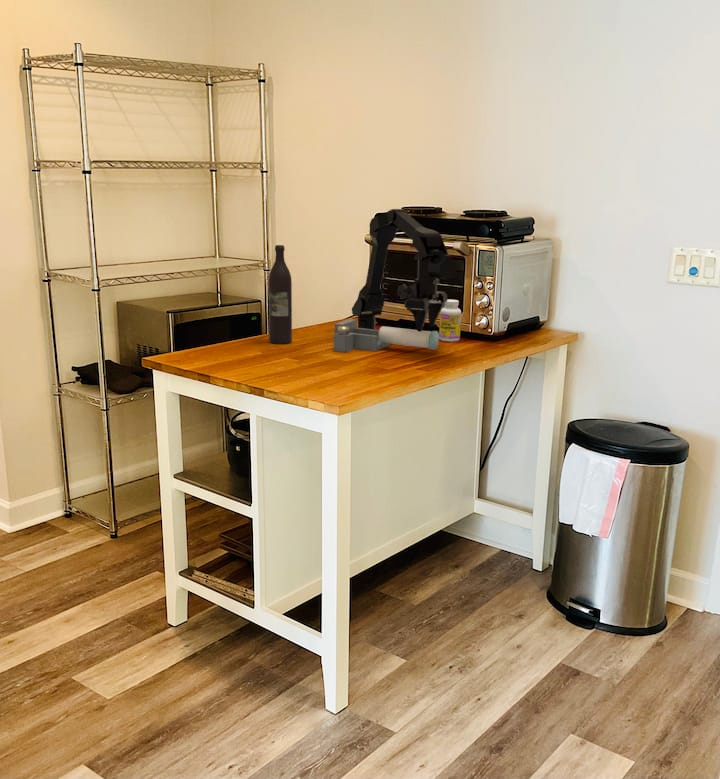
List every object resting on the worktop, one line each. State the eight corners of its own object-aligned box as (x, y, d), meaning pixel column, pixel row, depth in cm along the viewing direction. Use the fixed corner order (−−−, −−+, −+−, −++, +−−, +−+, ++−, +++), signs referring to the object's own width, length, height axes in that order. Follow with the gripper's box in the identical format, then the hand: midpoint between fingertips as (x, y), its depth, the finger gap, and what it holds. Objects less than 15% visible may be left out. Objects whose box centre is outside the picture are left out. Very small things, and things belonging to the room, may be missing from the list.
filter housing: (349, 340, 258) (349, 319, 256) (389, 345, 252) (389, 323, 250) (325, 349, 244) (325, 326, 242) (366, 354, 238) (367, 331, 236)
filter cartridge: (385, 341, 250) (386, 323, 248) (438, 348, 242) (439, 329, 240) (377, 345, 245) (378, 326, 243) (431, 351, 237) (432, 332, 236)
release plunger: (341, 346, 246) (341, 325, 244) (350, 348, 245) (351, 326, 243) (335, 348, 243) (335, 327, 241) (345, 350, 242) (345, 328, 240)
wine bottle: (264, 342, 254) (263, 245, 246) (280, 338, 259) (280, 244, 251) (280, 345, 249) (279, 246, 242) (296, 342, 255) (296, 245, 247)
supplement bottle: (436, 340, 260) (438, 301, 256) (442, 337, 266) (444, 298, 262) (456, 342, 257) (458, 302, 254) (462, 339, 263) (464, 299, 260)
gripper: (414, 271, 247) (413, 321, 251) (388, 277, 231) (387, 331, 235) (448, 273, 242) (446, 325, 246) (424, 280, 226) (422, 335, 230)
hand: (425, 328), depth 239 cm, fingers open, 9 cm apart
